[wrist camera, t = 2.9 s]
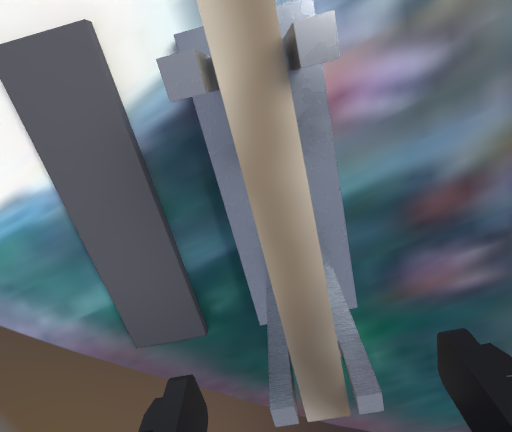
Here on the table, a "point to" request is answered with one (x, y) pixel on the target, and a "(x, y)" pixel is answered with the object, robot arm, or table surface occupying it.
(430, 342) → the table surface
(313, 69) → the hook rack
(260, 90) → the birch rail
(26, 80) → the rubber mat
